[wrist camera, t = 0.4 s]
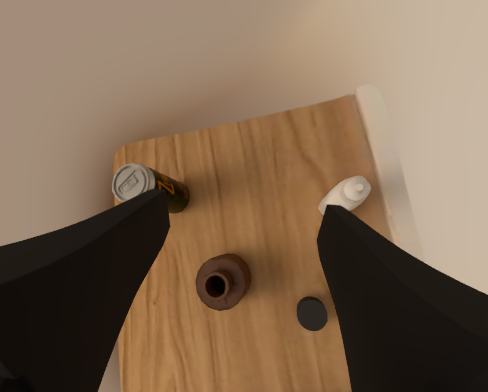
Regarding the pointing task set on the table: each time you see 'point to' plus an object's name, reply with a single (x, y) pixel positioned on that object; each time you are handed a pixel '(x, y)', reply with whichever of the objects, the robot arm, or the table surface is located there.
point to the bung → (311, 313)
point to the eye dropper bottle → (347, 194)
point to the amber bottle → (223, 281)
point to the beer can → (148, 185)
